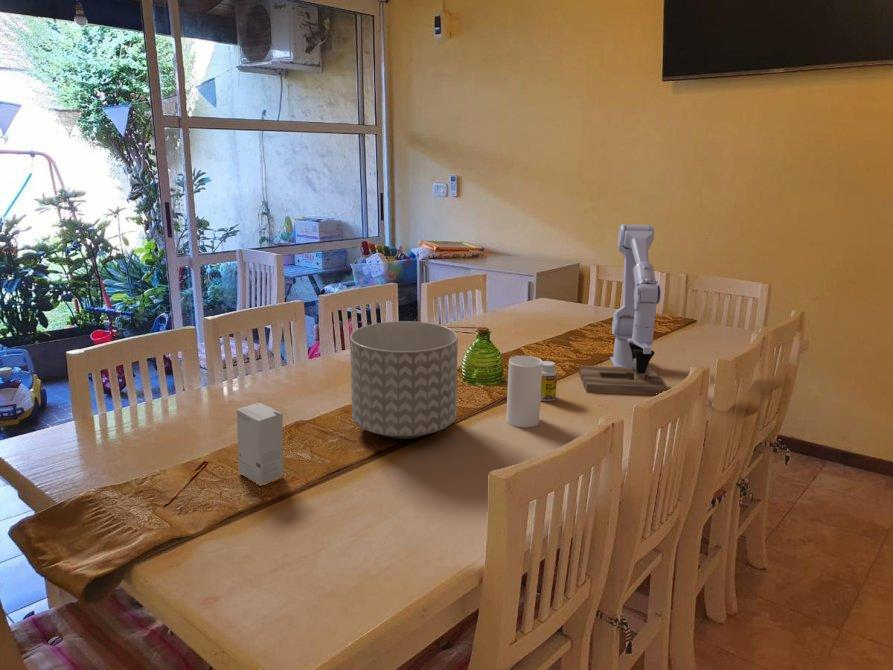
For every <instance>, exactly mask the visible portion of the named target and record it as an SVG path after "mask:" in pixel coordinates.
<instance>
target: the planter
mask: <svg viewBox="0 0 893 670" xmlns="http://www.w3.org/2000/svg"><path fill="white" fill-rule="evenodd" d="M349 337H350V338H349V345H350V346H349V347H350V348H349V349H350V352H349V353H350V355H349V356H350V386H351V387H350V389H351V390H350V391H351V393H350V394H351V417H352V421H353V422H354V424H356V425H357V426H358V427H359V428H361V429H362V430H365V431H367V432H370V433H373V434H377V435H381V436H383V437H387V438H392V439H398V440H406V439H407V440H409V439H414V438H415V439H416V438H420V437H421V438H422V437H424V436H426V435H427V436H428V435H429V434H433V433H434V434H435V433H436V432H439V431H441V430H444V429H447V428H448V427H449V426H451V425H452V424H453V423H454V422H455V420H456V418H457V402H458V401H457V400H458V399H457V397H458V396H457V394H458V393H457V392H458V356H459V355H458V353H459V352H458V351H459V347H458V346H459V345H458V344H459V336H458V333H457V332H456V331H454V330H453V329H452V328H450V327H447V326H444V325H441V324H437V323H431V322H424V321H414V320H413V321H411V320H410V321H409V320H406V321H405V320H404V321H403V320H400V321H398V320H397V321H385V322H378V323H377V322H376V323H373V324H368V325H364V326H361V327H359V328H357V329H355V330H353V332H351V333H350V335H349Z"/></svg>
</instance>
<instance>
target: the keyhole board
mask: <svg viewBox="0 0 893 670" xmlns="http://www.w3.org/2000/svg"><path fill="white" fill-rule="evenodd" d="M634 373H635V371H633V370H632V368H631V367H615V366H603V365H602V366H598V365H579V367H578V375H579V378H580V380H581V382H582V384H583V387H584V389H585V392H586V393H597V394H598V393H599V394H601V393H603V394H627V395H630V394H631V395H653V394H654V396H657V395H656V393H657V394H659V393H662V392H663V391H666V390H667V386H666V385H665V382H663V380H662V379H661V377H660V376H659V375H658V374H657V372H656V371H655V369H654V368H653V367H648V372H646V373H645V380H634Z"/></svg>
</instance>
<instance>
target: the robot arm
mask: <svg viewBox="0 0 893 670" xmlns="http://www.w3.org/2000/svg"><path fill="white" fill-rule="evenodd" d="M654 238H655V229H654V226H653V225H652V224H625V223H621V225H620V226H619V228H618V233H617V251H618V252H619V253H621V254H622V256H623V257H622V258H623V281H622V282H623V287H622V288H623V289H622V306H621V307H620V308H618V309H616V310H615V311H614V312H613V314H612V322H611V333H612V335H613V336H614V337H615V339H614V344H613V345H614V346H613V356H610V357H609V359H610V361H611V363H612V365H613V367H631V368H633V359H635V358H636V368H637V373H645V372H646V369H647V366H648V363H649V364H650V361H651V359H652V358H653V356H655V353H656V352H655V351H654V350H652V347H653V345H654V331H655V324H656V323H655V322H656V313H657V305H658V304H659V303H660V301H661V296H662V295H661V293H662V291H661V285H660V283H659V281H658V280H656V275H655V269H654V265H653V264H652V263H650V260H649V257H650V256H649V249H650V248H651V245H652V244H653V243H654Z"/></svg>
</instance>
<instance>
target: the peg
mask: <svg viewBox="0 0 893 670" xmlns="http://www.w3.org/2000/svg"><path fill="white" fill-rule="evenodd" d="M649 364H650V362H649V363H648V366H647V369H646V372H648V368H650V366H649ZM632 370H633V371H635V373H634V380H645V373H646V372H645V373H637V368H636V358H635V359H633V368H632Z"/></svg>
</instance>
